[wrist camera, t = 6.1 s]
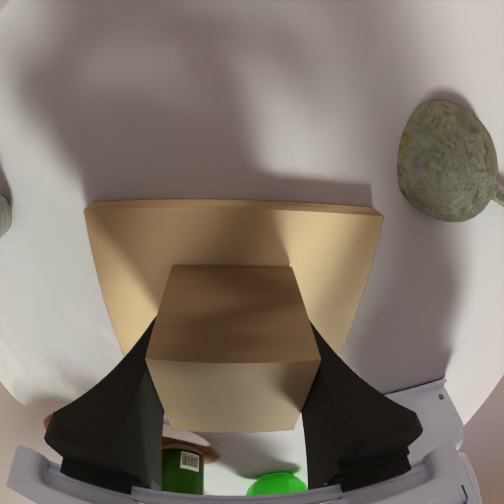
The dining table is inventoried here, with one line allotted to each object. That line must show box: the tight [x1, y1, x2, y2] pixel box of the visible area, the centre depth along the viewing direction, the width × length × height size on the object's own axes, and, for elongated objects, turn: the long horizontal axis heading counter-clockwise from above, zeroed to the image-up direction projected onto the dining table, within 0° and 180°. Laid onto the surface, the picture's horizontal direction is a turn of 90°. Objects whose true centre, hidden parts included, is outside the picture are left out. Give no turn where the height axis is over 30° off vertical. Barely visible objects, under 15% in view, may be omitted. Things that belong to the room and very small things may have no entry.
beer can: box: [159, 444, 204, 495], centre depth 21 cm, size 5×5×12 cm
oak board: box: [84, 199, 384, 357], centre depth 15 cm, size 14×10×1 cm
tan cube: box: [145, 265, 321, 433], centre depth 12 cm, size 6×6×6 cm
